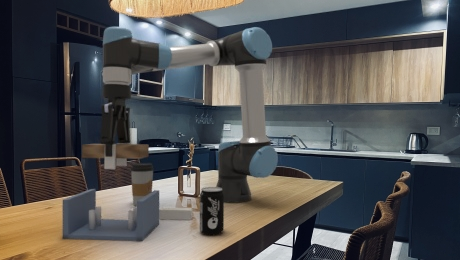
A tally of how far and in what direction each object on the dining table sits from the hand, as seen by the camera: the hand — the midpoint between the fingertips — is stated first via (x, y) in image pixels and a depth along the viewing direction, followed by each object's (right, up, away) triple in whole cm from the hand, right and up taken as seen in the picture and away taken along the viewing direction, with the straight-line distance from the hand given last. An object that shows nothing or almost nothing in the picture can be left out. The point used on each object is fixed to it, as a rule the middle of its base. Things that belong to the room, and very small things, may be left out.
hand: (115, 167), depth 93 cm
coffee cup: (-1, -18, +32) cm, 37 cm away
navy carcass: (0, -18, 0) cm, 18 cm away
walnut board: (0, +3, 0) cm, 3 cm away
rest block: (+15, -18, +13) cm, 26 cm away
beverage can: (+27, -18, -1) cm, 32 cm away
